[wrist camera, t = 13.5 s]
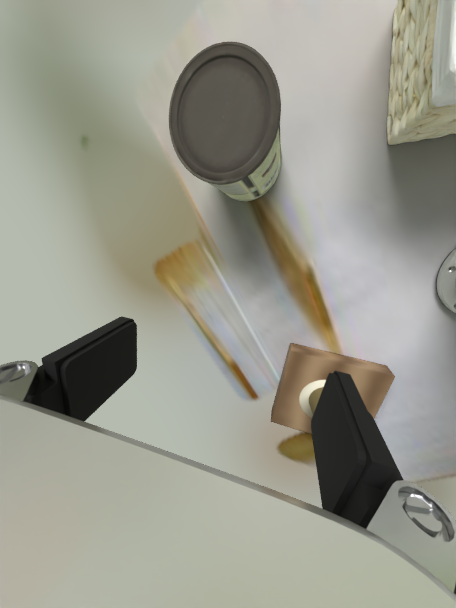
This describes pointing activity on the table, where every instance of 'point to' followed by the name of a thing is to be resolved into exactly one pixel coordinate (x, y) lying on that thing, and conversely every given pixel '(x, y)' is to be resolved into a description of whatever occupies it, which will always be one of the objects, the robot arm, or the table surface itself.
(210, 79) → the coffee can
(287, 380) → the base
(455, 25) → the storage basket
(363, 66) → the table surface
